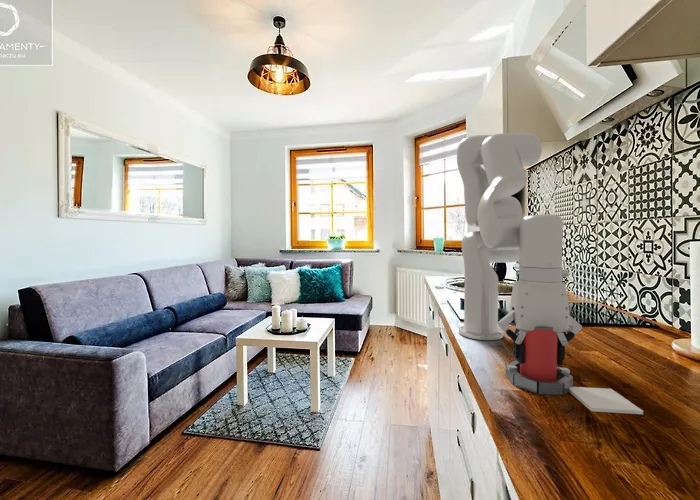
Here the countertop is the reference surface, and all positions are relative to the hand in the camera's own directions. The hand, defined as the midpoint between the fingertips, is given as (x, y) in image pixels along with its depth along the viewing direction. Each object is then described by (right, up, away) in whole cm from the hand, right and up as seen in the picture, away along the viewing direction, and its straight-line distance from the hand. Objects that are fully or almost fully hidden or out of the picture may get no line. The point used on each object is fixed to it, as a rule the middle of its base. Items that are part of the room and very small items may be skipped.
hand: (538, 361), depth 66 cm
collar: (0, -4, 0) cm, 4 cm away
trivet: (+7, -4, -8) cm, 11 cm away
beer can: (0, -4, 0) cm, 4 cm away
